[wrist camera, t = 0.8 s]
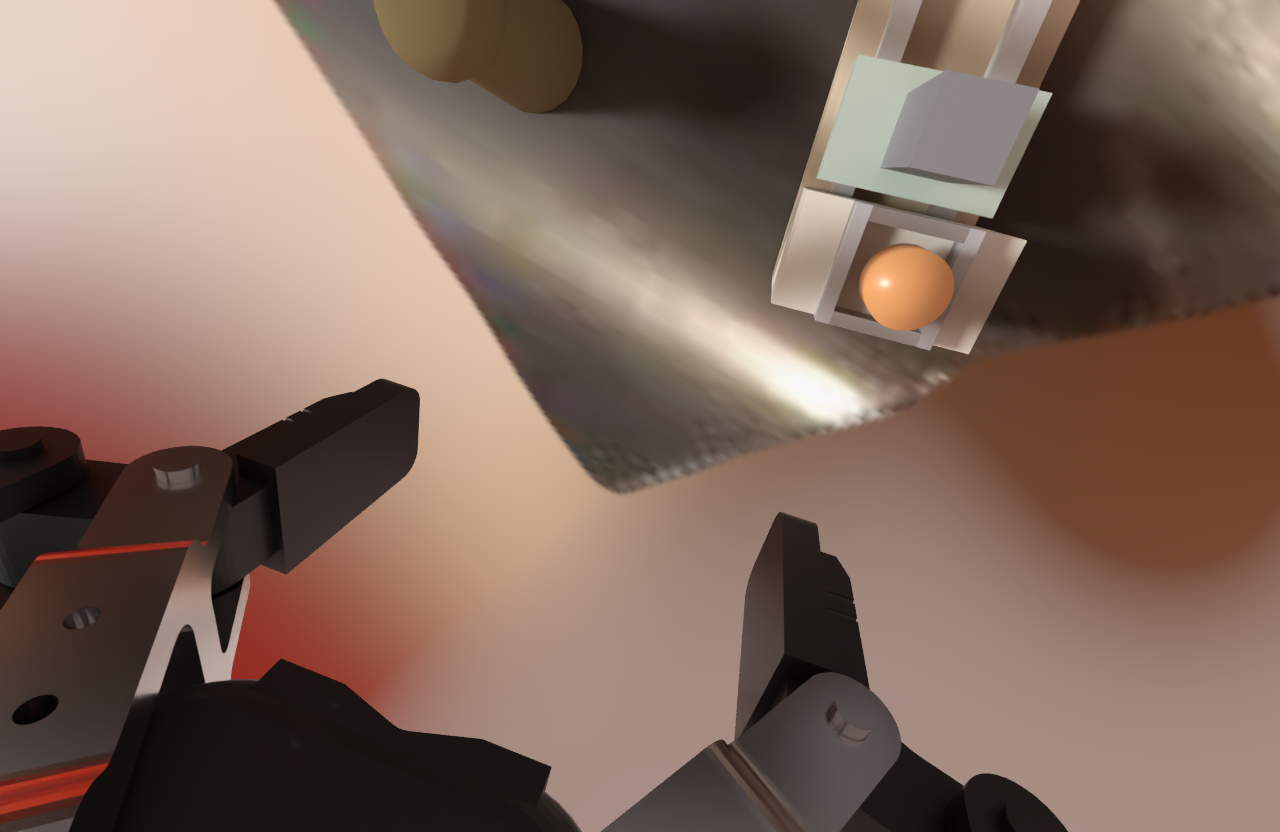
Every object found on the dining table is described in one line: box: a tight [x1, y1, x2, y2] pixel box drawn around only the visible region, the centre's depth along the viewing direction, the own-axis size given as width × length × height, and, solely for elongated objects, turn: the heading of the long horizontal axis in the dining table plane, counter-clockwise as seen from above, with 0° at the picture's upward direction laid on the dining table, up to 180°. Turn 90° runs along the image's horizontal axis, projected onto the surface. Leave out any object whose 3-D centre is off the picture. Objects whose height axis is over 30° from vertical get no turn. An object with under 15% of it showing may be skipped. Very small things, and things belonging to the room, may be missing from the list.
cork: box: [374, 0, 583, 113], centre depth 25 cm, size 6×6×11 cm
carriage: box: [816, 55, 1052, 219], centre depth 22 cm, size 5×8×8 cm, turn 78°
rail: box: [771, 0, 1080, 354], centre depth 22 cm, size 25×10×9 cm, turn 168°
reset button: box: [859, 243, 954, 331], centre depth 21 cm, size 3×3×2 cm
